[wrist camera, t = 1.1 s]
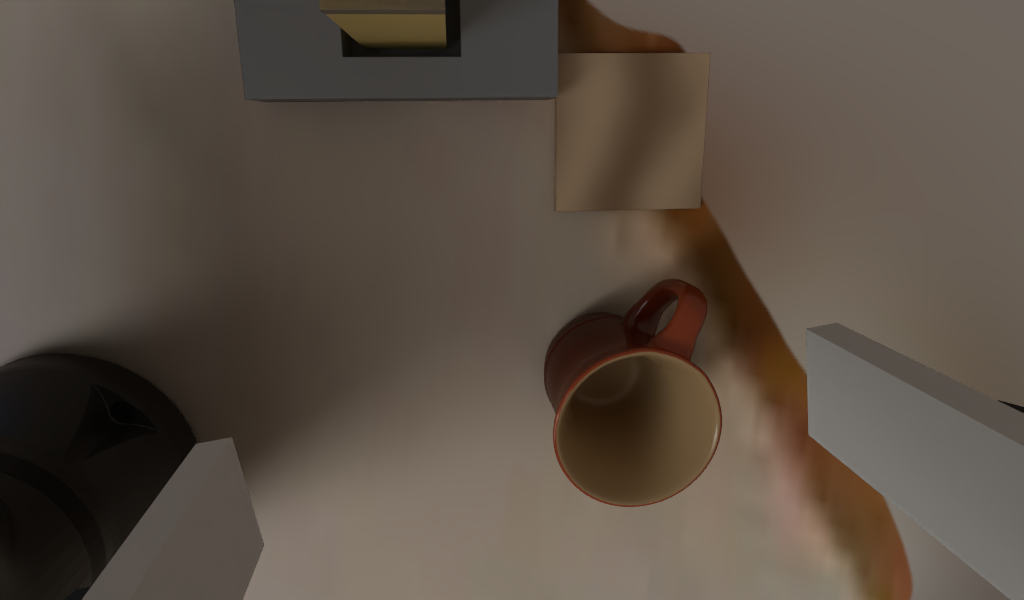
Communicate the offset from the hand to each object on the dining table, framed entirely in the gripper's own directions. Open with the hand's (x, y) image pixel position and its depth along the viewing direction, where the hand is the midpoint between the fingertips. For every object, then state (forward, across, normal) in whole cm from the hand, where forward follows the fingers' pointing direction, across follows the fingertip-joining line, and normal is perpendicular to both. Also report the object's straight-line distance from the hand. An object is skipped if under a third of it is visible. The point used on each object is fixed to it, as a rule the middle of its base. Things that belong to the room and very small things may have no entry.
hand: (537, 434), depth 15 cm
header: (+26, -1, +14) cm, 30 cm away
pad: (+26, +10, +5) cm, 28 cm away
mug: (+26, +8, -8) cm, 28 cm away
